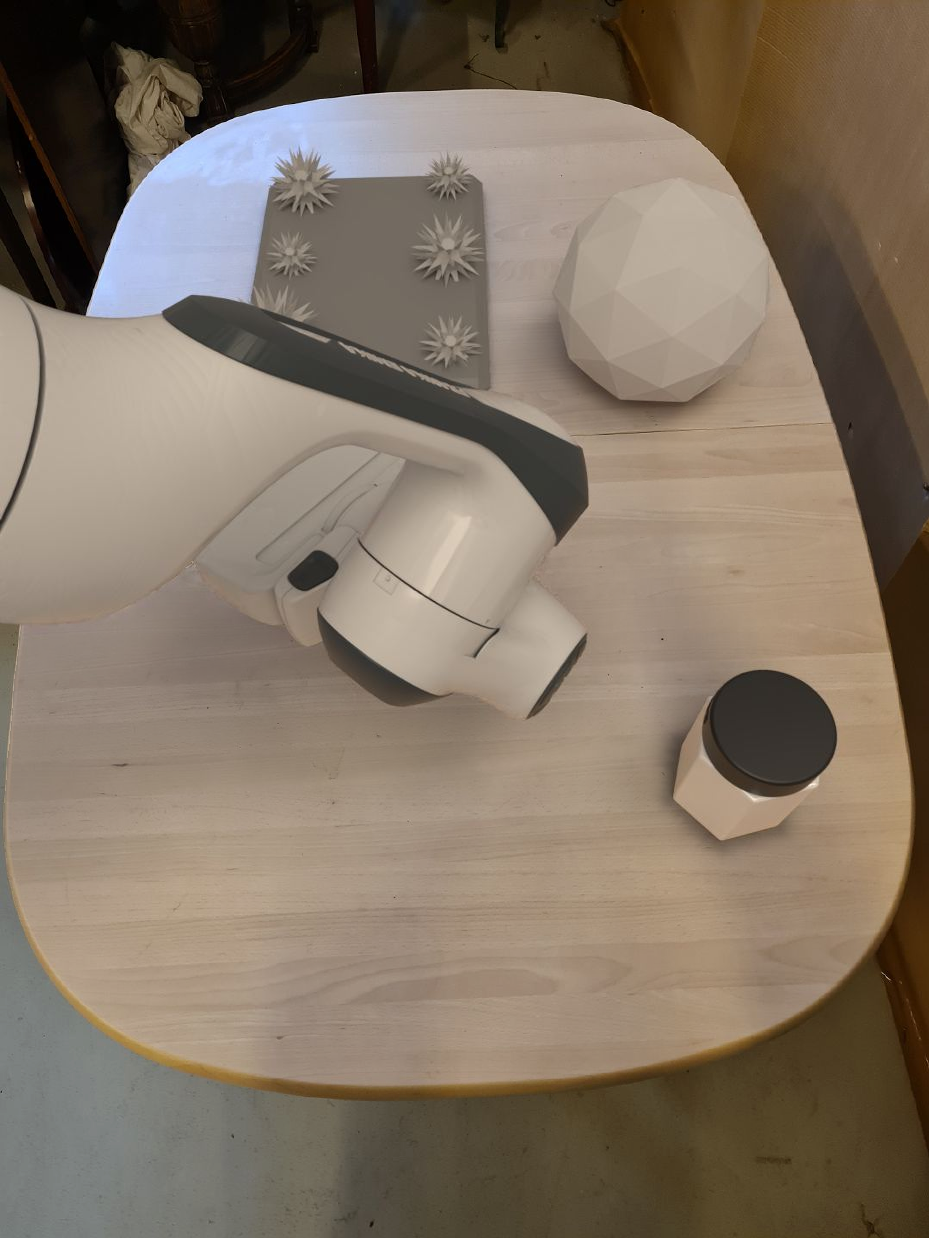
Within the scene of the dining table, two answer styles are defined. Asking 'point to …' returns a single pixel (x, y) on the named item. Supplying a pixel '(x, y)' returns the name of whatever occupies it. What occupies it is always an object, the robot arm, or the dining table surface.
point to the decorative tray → (382, 263)
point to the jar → (754, 753)
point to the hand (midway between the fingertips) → (254, 449)
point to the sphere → (663, 291)
